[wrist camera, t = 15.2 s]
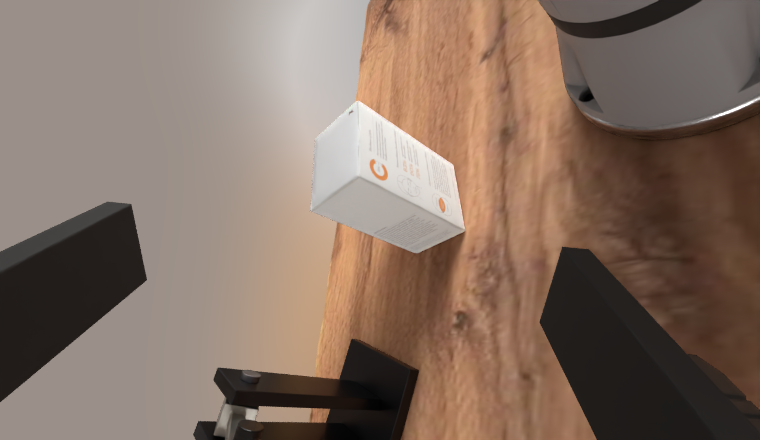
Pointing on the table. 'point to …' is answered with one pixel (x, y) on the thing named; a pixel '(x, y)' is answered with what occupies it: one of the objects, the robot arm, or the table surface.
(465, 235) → the table surface
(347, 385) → the black lever stand
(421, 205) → the small box
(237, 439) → the latch lever
